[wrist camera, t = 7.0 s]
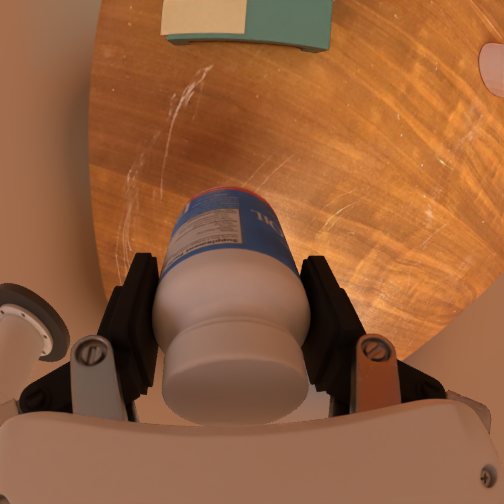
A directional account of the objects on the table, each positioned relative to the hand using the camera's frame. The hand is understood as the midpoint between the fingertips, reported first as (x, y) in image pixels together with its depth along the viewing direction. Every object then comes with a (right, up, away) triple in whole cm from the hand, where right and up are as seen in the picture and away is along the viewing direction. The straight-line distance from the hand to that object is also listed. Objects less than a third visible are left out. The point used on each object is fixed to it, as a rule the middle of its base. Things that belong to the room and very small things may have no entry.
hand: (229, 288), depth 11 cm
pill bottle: (0, +3, +4) cm, 5 cm away
